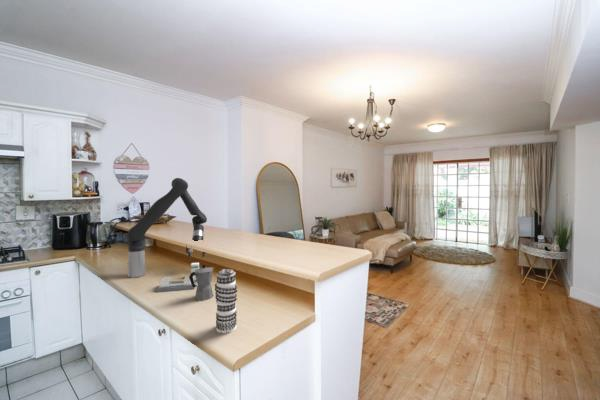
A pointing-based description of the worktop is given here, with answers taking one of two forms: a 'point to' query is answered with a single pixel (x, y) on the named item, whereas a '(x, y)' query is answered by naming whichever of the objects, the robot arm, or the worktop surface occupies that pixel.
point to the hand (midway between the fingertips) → (196, 257)
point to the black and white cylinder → (226, 301)
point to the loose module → (194, 267)
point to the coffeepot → (203, 282)
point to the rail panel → (175, 284)
